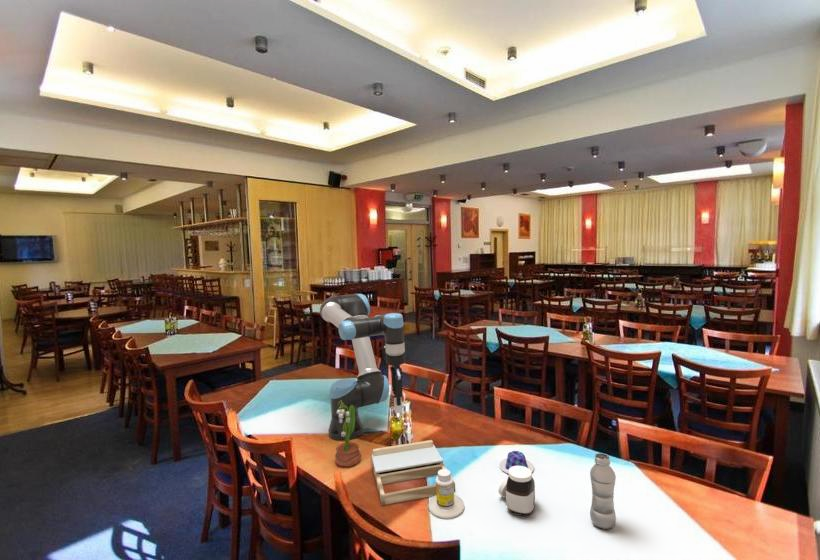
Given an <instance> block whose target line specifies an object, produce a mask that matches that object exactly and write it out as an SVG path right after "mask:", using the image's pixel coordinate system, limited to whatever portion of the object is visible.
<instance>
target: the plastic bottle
mask: <svg viewBox="0 0 820 560" xmlns="http://www.w3.org/2000/svg"><path fill="white" fill-rule="evenodd" d="M594 463H595V464H594V465H592V467H591V468H590V471H589V476H590V483H591V491H592V493H591V495H592V497H591V505H590V510H589V515H590V520H591V523H593V524H594V526H595V527H598V528H600V529H604V530H609V529H612V528H613V527H615V525H616V522H617V521H616V520H617V516H616V510H615V502H614V491H615V485H616V476H617V475H616V472H615V470H613V468H612V466H611V461H610V456H609V455H608V454H606V453H603V452H599V453H595V454H594Z"/></svg>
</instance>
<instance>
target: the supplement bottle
mask: <svg viewBox="0 0 820 560" xmlns="http://www.w3.org/2000/svg"><path fill="white" fill-rule="evenodd" d="M451 474H452V473H451V471H450V470H449V469H447V468H446V469H441V470H439V471H438V475H436V477H435V484H436V499H437V505H438V506H439V507H441V508H443V509H448V508H451V507H452V506H453V505H454V495H455V492H454V482H455V481H454V478H453V476H452V475H451Z"/></svg>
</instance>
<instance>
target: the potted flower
mask: <svg viewBox="0 0 820 560" xmlns="http://www.w3.org/2000/svg"><path fill="white" fill-rule="evenodd" d="M341 401H342V400H341ZM341 401H340V402H341ZM338 404H339V403H338ZM342 404H343V405H342ZM341 405H342V407H344V409H341ZM345 407H347V406H345V405H344V403H343V402H342V403H341V404H340V409H338V410H337V413H338V414H339V419H340V420H339V423H342V422H343V420H342V418H344V417H343V415H344V414H345V415H344V416H345V423H344V425H343V429H344V431H343V432H342V433H341V435H342V436H343V437H344V436H345V440H344V442H343V443H340V444H338V445H337V447H336V448H335V450H336V453H335V456H334V461H335V463H336V464H337V465H339V466H341V467H351V466H354V465H356V464H358V463H359V461H360V460H361V458H362V453H361V450H360V444H358V443H357V442H354V441H350V440H351V439H350V436H351V434H352V432H353V430H354V424H355V410H354V406H353V405H351V406H350V407H349V410H348V408H347V412H346V409H345ZM337 413H336V414H337ZM343 413H344V414H343Z"/></svg>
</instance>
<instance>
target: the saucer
mask: <svg viewBox="0 0 820 560" xmlns="http://www.w3.org/2000/svg"><path fill="white" fill-rule="evenodd" d="M464 510H465V503H464V500H463V499H462V498H461V497H460V496H458V495H457V494H454V505H453V506H452V507H451V508H448V509H443V508H441V507H439V506H438V505H437V499H436V495H435V496H431V498H429V501H428V511H429V512H430V514H431V515H432V516H434V517H435V518H438V519H442V520H449V519H455V518H458V517H460V516H461V515H462V514H463V512H464Z"/></svg>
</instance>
